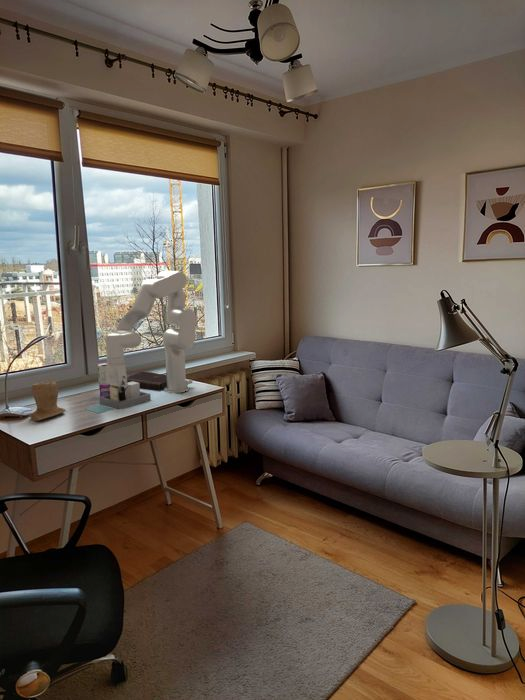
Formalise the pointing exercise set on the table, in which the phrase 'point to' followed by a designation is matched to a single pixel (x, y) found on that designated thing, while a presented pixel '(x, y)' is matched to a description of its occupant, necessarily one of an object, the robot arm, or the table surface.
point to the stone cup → (45, 401)
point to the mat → (99, 409)
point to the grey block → (132, 390)
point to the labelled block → (115, 393)
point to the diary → (149, 380)
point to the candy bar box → (103, 380)
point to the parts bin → (123, 404)
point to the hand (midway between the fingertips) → (118, 398)
